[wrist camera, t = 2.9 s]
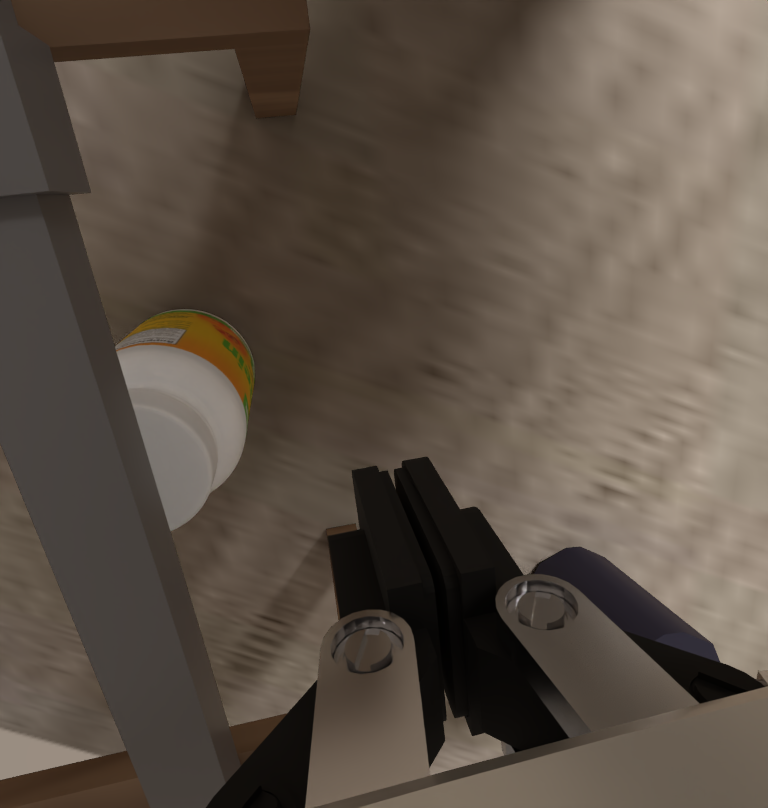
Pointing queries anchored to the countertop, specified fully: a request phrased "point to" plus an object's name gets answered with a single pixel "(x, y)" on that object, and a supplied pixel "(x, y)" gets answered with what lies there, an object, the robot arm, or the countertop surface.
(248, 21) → the frame
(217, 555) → the countertop surface
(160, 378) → the supplement bottle
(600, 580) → the speaker
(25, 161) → the tie bar
